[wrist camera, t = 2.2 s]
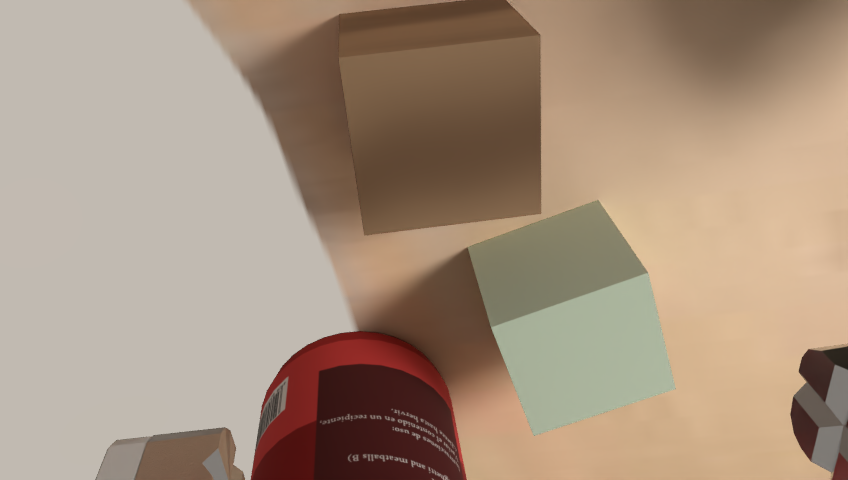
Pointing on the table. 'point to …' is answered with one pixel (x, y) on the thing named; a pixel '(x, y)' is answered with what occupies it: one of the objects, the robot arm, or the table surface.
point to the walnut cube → (442, 113)
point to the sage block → (572, 317)
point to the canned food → (358, 415)
